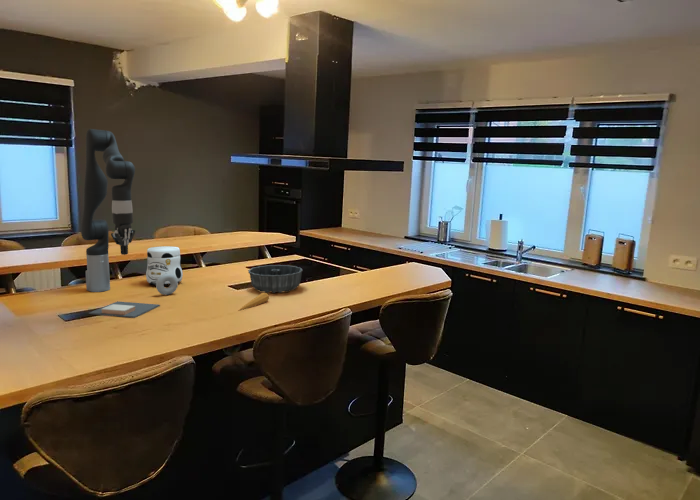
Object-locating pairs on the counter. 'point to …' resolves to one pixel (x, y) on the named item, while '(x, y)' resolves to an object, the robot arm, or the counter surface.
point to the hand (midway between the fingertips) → (124, 254)
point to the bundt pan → (275, 278)
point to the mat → (139, 310)
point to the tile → (118, 309)
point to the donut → (162, 280)
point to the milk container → (163, 263)
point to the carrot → (256, 301)
